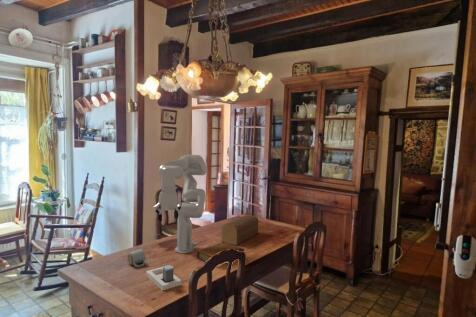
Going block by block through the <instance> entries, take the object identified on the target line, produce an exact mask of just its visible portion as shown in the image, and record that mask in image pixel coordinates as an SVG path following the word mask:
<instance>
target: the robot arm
mask: <svg viewBox="0 0 476 317" xmlns="http://www.w3.org/2000/svg"><path fill="white" fill-rule="evenodd" d="M207 172H208V167H207V163H206V162H205V159H204V158H203V156H201V154H184V155H183V156H181V157H180V158H179V159H175V160H169V161H166V162H164V163H163V164H161V165H160V167H159V168H158V176H159V177H160V178H161V191H160V192H159V195H158V202H157V204H155V205H153V206H152V208H153V210H154V212H155V213H156V214H157V221H158V222H162V221H163V215H162V213H163V212H164V211H169V210H174V211H173V214H174V215H173V218H174V219H176V220H177V222H176V223H177V230H176V233H177V235H176V236H177V237H176V240H177V242H176V243H177V244H176V247H175V248H174V252H176V253H178V254H189V253H192V252H193V251H195V246H199V242H198V241H196V242H194V241H193V223H192V220H191V219H201V218H202V216H203V214H204V213H203V212H204V209H205V204H206V196H207V195H206V191H205V189H203V188H197V185H198V182H197V179H196V178H195V177H194V176H206V174H207ZM182 178H184V179H183V180H184V184H183V188H182V193H181V200H182V201H183V202H181V201H178V192H177V191H176V190H177V189H178V186H176V180H178V179H179V180H180V179H182Z"/></svg>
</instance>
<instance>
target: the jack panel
mask: <svg viewBox="0 0 476 317" xmlns="http://www.w3.org/2000/svg"><path fill="white" fill-rule="evenodd" d="M145 276H146V278H148V279H149V280H150V281H151V282H152V283H153V284H154V285H156V286H157V287H158V288H159V289H160V290H161V291H162V290H164V291H166V289H167V290H170V289H173V288H176V287H179V286H181V285H182V279H180V278H179V277H178V276H177V275H175V274H174V276H173V281H171V282H168V283H165V282H163V266H161V267H157V268H154V269H150V270H146V272H145ZM178 285H179V286H178ZM175 286H176V287H175ZM172 287H173V288H172ZM169 288H170V289H169Z"/></svg>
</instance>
